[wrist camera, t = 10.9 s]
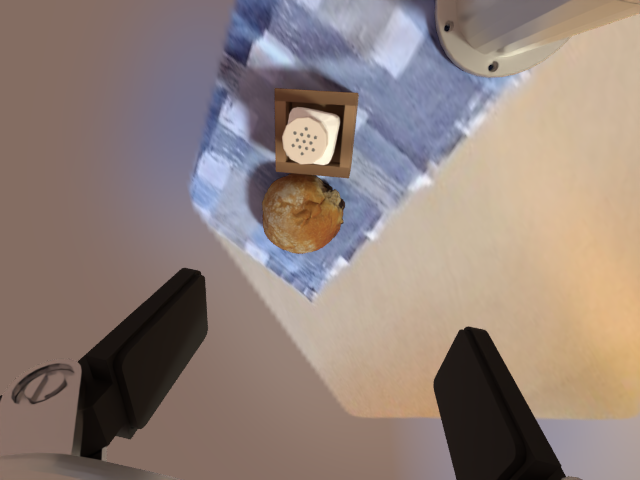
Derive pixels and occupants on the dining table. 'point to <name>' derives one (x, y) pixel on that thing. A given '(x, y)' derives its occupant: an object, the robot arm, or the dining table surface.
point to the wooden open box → (321, 101)
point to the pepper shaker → (310, 136)
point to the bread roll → (301, 213)
